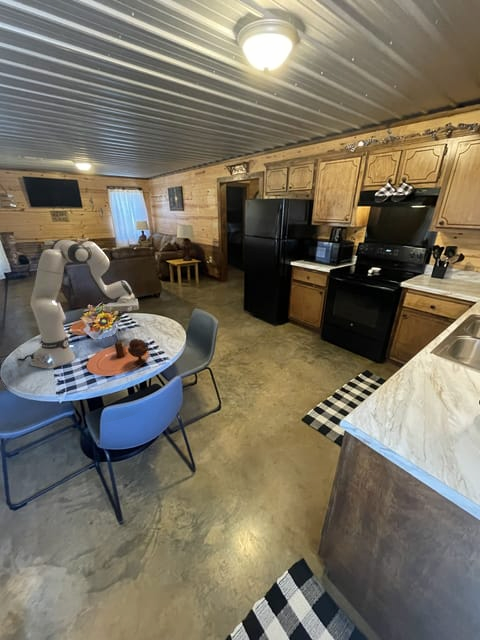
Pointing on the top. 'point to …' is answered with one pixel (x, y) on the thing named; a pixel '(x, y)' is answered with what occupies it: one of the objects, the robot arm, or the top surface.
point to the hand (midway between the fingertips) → (119, 311)
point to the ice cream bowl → (138, 350)
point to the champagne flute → (62, 316)
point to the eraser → (120, 348)
